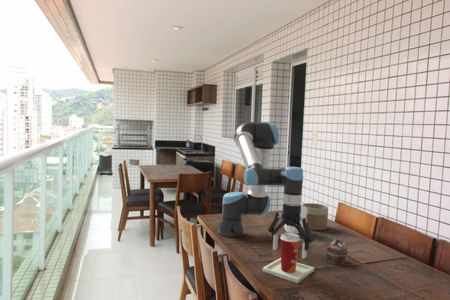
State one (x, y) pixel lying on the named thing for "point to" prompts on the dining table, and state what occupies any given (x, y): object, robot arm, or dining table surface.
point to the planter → (316, 216)
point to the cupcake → (336, 252)
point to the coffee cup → (289, 251)
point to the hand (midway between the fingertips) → (289, 253)
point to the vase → (303, 215)
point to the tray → (295, 277)
